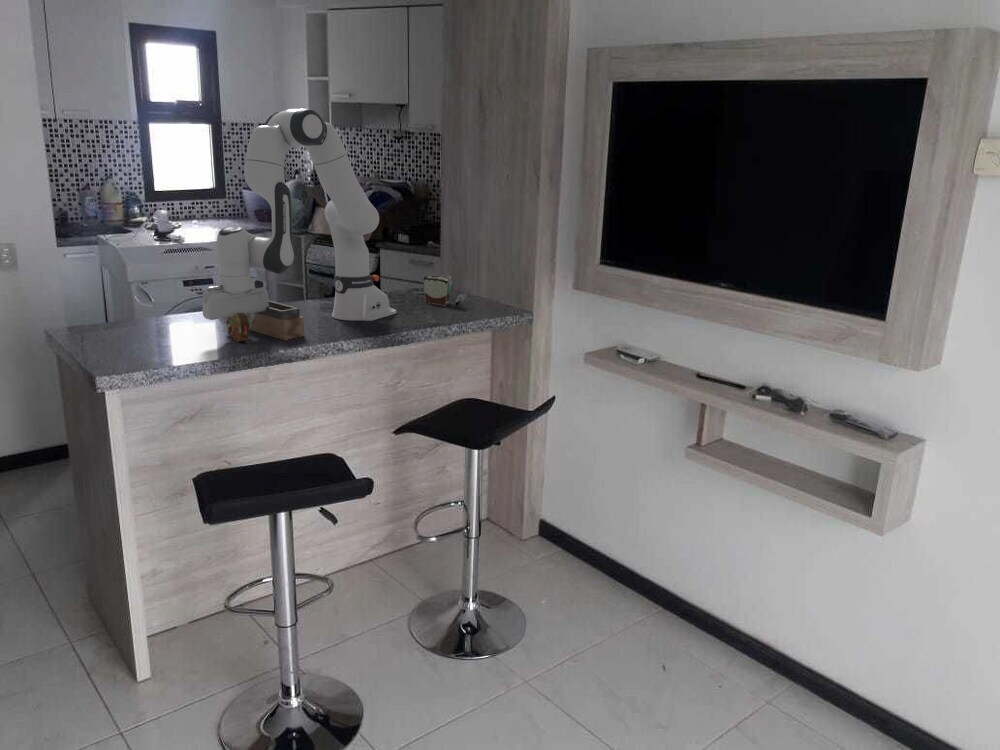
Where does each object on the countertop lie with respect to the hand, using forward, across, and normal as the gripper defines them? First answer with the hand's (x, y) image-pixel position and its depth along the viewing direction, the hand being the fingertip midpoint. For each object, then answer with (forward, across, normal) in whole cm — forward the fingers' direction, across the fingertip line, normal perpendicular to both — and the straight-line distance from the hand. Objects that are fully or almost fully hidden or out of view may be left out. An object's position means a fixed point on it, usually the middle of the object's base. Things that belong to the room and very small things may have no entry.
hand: (237, 329), depth 239 cm
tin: (+3, 0, 0) cm, 3 cm away
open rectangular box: (+3, +12, 0) cm, 12 cm away
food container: (+3, +82, -4) cm, 82 cm away
